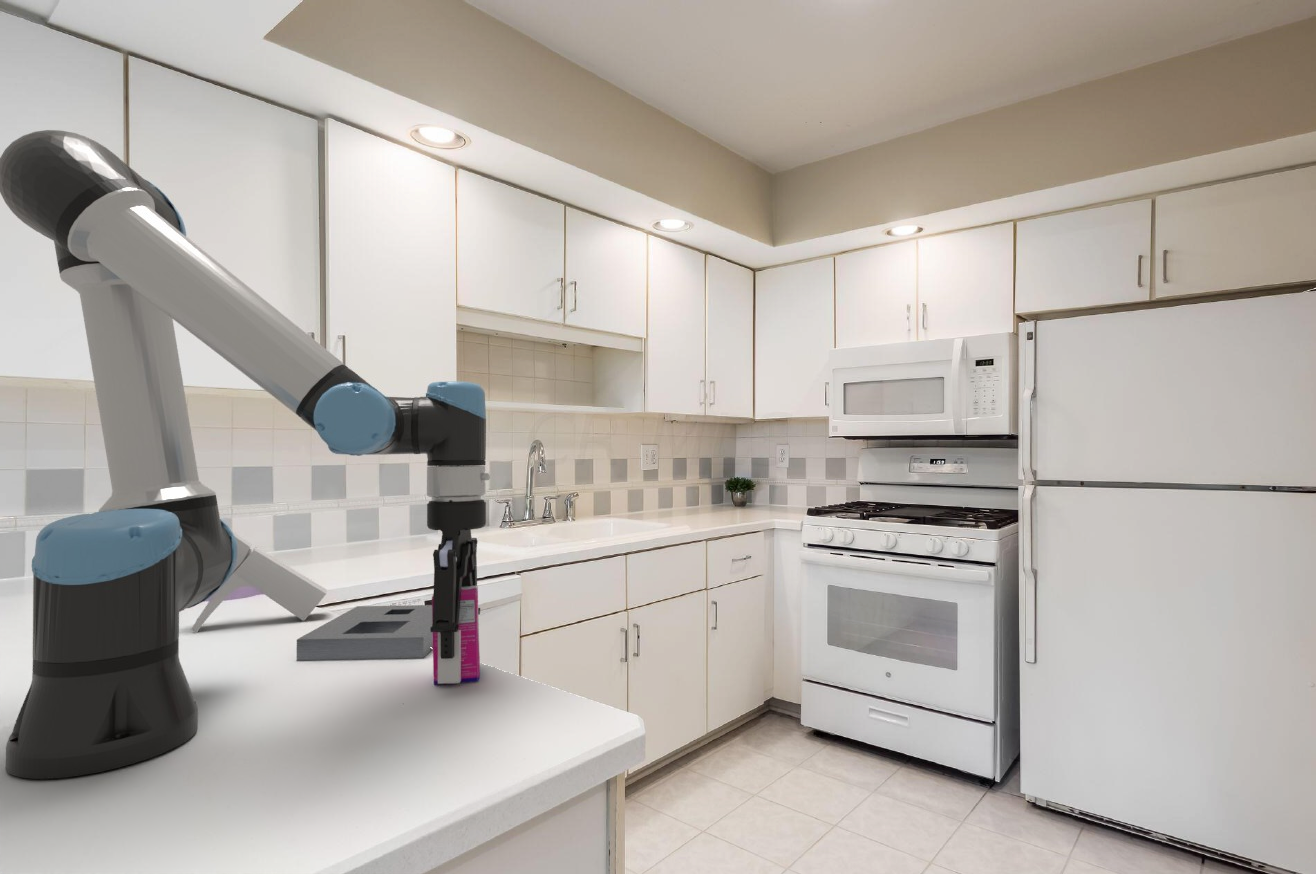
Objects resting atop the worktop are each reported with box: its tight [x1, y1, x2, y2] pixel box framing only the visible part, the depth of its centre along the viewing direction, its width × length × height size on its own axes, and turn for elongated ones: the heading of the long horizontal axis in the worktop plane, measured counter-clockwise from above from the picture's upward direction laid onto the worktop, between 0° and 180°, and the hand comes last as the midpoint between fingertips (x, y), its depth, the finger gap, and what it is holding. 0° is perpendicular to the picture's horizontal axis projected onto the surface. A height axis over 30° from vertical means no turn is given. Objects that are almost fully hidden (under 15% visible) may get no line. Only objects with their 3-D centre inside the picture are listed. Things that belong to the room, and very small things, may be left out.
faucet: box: [191, 529, 328, 634], centre depth 121 cm, size 6×16×20 cm
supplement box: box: [431, 585, 481, 686], centre depth 91 cm, size 6×6×12 cm
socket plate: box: [296, 604, 433, 662], centre depth 111 cm, size 22×18×3 cm
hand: (456, 672), depth 91 cm, fingers open, 7 cm apart
